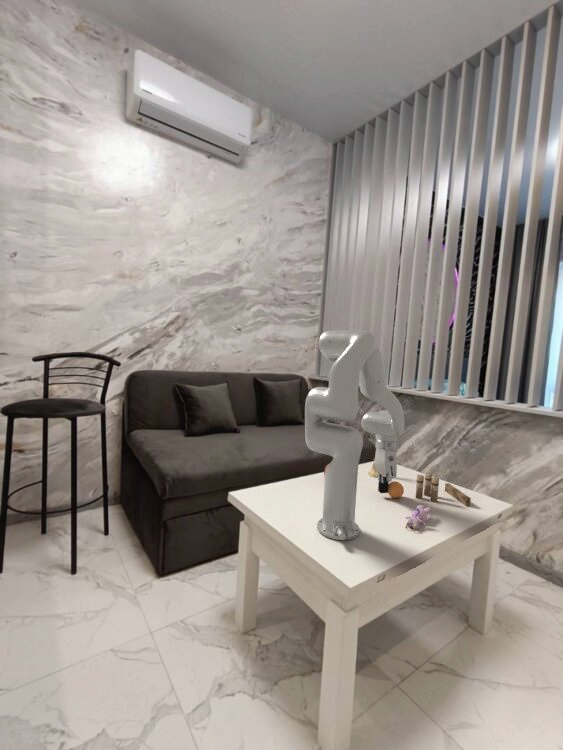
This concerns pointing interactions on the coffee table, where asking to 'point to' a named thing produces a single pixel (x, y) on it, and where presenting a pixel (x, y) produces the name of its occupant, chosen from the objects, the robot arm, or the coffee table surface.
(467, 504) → the bar
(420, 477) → the front pin
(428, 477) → the pin
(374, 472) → the hand bell
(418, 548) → the coffee table surface
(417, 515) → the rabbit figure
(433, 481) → the pin
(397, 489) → the ball
